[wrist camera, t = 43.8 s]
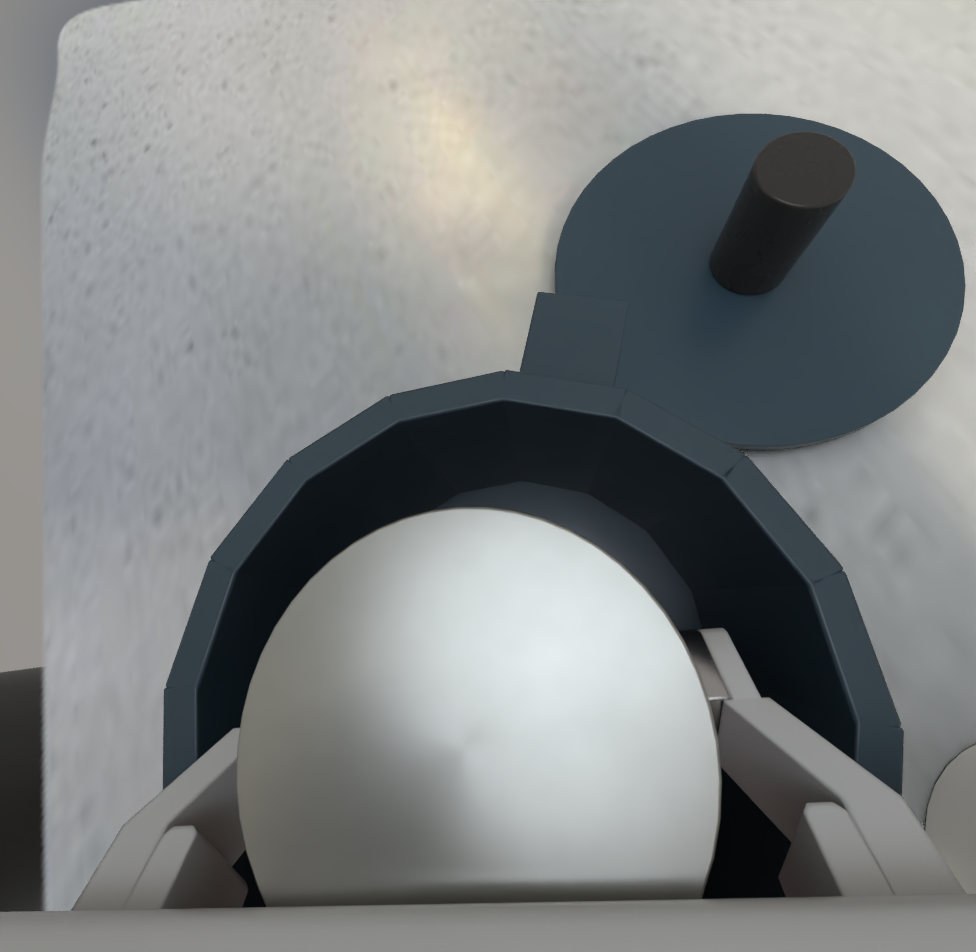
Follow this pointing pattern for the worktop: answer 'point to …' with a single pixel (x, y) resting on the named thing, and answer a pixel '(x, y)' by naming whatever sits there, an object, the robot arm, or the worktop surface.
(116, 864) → the robot arm
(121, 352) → the worktop surface
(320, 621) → the can
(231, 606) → the pot
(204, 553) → the worktop surface
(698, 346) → the pot lid
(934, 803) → the cylindrical container
